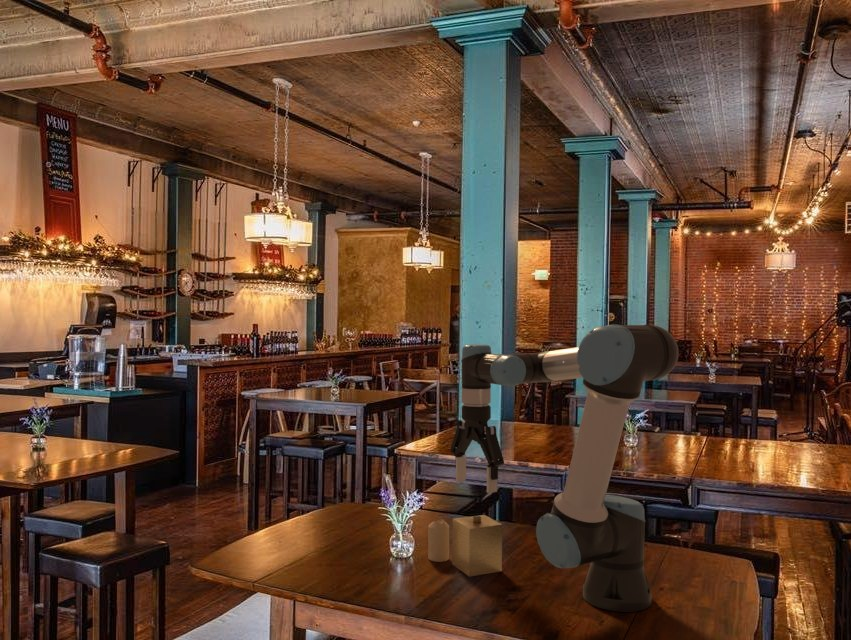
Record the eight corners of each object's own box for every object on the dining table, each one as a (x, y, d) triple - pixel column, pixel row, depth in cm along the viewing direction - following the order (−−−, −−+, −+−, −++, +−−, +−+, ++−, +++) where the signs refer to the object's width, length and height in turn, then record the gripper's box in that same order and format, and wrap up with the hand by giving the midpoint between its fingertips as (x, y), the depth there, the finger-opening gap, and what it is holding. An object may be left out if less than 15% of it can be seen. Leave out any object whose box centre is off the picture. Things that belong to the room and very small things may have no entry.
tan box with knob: (501, 571, 185) (502, 519, 185) (469, 576, 181) (469, 524, 181) (483, 559, 194) (484, 510, 193) (452, 564, 190) (452, 514, 189)
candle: (436, 553, 198) (437, 516, 198) (453, 558, 194) (453, 520, 194) (423, 558, 194) (424, 520, 194) (440, 563, 190) (440, 525, 190)
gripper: (518, 408, 182) (518, 494, 182) (460, 398, 203) (460, 475, 203) (494, 411, 178) (493, 499, 178) (437, 400, 199) (437, 478, 199)
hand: (475, 486), depth 191 cm, fingers open, 13 cm apart
